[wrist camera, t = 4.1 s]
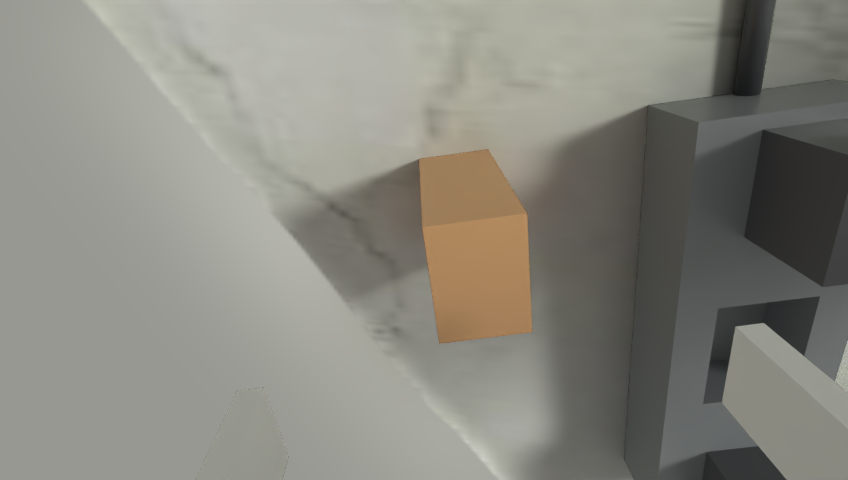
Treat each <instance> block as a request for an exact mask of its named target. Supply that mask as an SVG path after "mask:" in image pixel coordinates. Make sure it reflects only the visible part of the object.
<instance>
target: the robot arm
mask: <svg viewBox="0 0 848 480" xmlns="http://www.w3.org/2000/svg"><path fill="white" fill-rule="evenodd" d="M722 403H723V405H724V406H725V407H726V408H727V409H728V411H729V412H730V413H731V414H732V415H733V416H734V418H735V419H736V420H737V421H738V422H739V424H740V425H741V426H742V427H743V428H744V430H745V431H746V432H747V433H748V434H749V436H750V437H751V438H752V439H753V440H754V441H755V443H756V444H757V445H758V446H759V447H760V449H761V450H762V451H763V452H764V453H765V455H766V456H767V457H768V458H769V459H770V461H771V462H772V463H773V464H774V465H775V466H776V468H777V469H778V470H779V471H780V472H781V474H782V475H783V476H784V477H785V478H786V480H848V392H847V391H845V390H844V389H843V388H842V387H841V386H839V385H838V384H837V383H836V382H834V381H833V380H832V379H831V378H830V377H828V376H827V375H826V374H825V373H824V372H822V371H821V370H820V369H819V368H818V367H816V366H815V365H814V364H813V363H812V362H810V361H809V360H808V359H807V358H805V357H804V356H803V355H802V354H801V353H799V352H798V351H797V350H796V349H795V348H793V347H792V346H791V345H790V344H789V343H787V342H786V341H785V340H784V339H782V338H781V337H780V336H779V335H778V334H776V333H775V332H774V331H773V330H772V329H770V328H769V327H768V326H767V325H766V324H764V323H759V324H752V325H744V326H736V327H735V332H734V337H733V343H732V348H731V354H730V360H729V365H728V371H727V376H726V382H725V387H724V393H723V399H722ZM288 457H289V456H288V453H287V450H286V447H285V445H284V442H283V439H282V436H281V434H280V431H279V428H278V425H277V423H276V420H275V417H274V414H273V411H272V409H271V406H270V403H269V400H268V398H267V395H266V392H265V389H264V388H255V389H248V390H240V391H237V393H236V394H235V396H234V399H233V401H232V403H231V405H230V407H229V409H228V411H227V414H226V416H225V418H224V420H223V422H222V424H221V426H220V428H219V431H218V433H217V435H216V437H215V439H214V441H213V443H212V446H211V448H210V450H209V452H208V454H207V456H206V459H205V461H204V463H203V465H202V467H201V469H200V471H199V473H198V476H197V478H196V480H283V476H284V473H285V469H286V465H287V462H288Z"/></svg>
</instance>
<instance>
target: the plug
mask: <svg viewBox="0 0 848 480" xmlns="http://www.w3.org/2000/svg"><path fill="white" fill-rule="evenodd" d="M419 168H420V189H421V210H422V229H423V235H424V242H425V249H426V256H427V263H428V269H429V276H430V283H431V290H432V297H433V303H434V310H435V317H436V324H437V330H438V337H439V344H440V343H448V342H456V341H464V340H472V339H481V338H489V337H497V336H505V335H513V334H521V333H530V332H532V314H531V290H530V267H529V243H528V220H527V212H526V211H525V209H524V207H523V206H522V204H521V202H520V201H519V199H518V198H517V196H516V194H515V193H514V191H513V189H512V188H511V186H510V184H509V183H508V181H507V179H506V178H505V176H504V175H503V173H502V171H501V170H500V168H499V166H498V165H497V163H496V161H495V160H494V158H493V156H492V155H491V153H490V152H489V150H488V149H487V150H480V151H473V152H465V153H458V154H451V155H443V156H436V157H429V158H422V159H419Z"/></svg>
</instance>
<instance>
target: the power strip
mask: <svg viewBox="0 0 848 480" xmlns="http://www.w3.org/2000/svg"><path fill="white" fill-rule="evenodd" d="M775 4H776V0H747V5H746V12H745V19H744V26H743V33H742V40H741V47H740V54H739V61H738V68H737V75H736V82H735V89H734V93H733V94H726V95H719V96H712V97H704V98H697V99H690V100H683V101H675V102H668V103H661V104H654V105H648V116H647V131H646V145H645V160H644V175H643V189H642V204H641V218H640V233H639V248H638V262H637V277H636V291H635V306H634V321H633V335H632V350H631V364H630V379H629V394H628V408H627V423H626V437H625V452H624V460H625V462H626V464H627V466H628V468H629V470H630V472H631V474H632V477H633V479H634V480H786V478H785V477H784V476H783V475H782V474H781V472H780V471H779V470H778V469H777V468H776V466H775V465H774V464H773V463H772V462H771V461H770V459H769V458H768V457H767V456H766V455H765V453H764V452H763V451H762V450H761V449H760V447H759V446H758V445H757V444H756V443H755V441H754V440H753V439H752V438H751V437H750V436H749V434H748V433H747V432H746V431H745V430H744V428H743V427H742V426H741V425H740V424H739V422H738V421H737V420H736V419H735V418H734V416H733V415H732V414H731V413H730V412H729V411H728V409H727V408H726V407H725V406H724V405H723V403H722V399H723V393H724V387H725V382H726V376H727V371H728V365H729V360H730V354H731V348H732V343H733V337H734V332H735V327H736V326H744V325H752V324H759V323H764V324H766V325H767V326H768V327H769V328H770V329H772V330H773V331H774V332H775V333H776V334H778V335H779V336H780V337H781V338H782V339H784V340H785V341H786V342H787V343H789V344H790V345H791V346H792V347H793V348H795V349H796V350H797V351H798V352H799V353H801V354H802V355H803V356H804V357H805V358H807V359H808V360H809V361H810V362H812V363H813V364H814V365H815V366H816V367H818V368H819V369H820V370H821V371H822V372H824V373H825V374H826V375H827V376H828V377H830V378H831V379H832V380H833V381H834V382H835V379H836V376H837V372H838V369H839V366H840V363H841V359H842V356H843V353H844V350H845V346H846V343H847V340H848V82H847V81H839V80H827V81H820V82H812V83H805V84H798V85H791V86H784V87H776V88H769V89H762V90H761V88H762V82H763V76H764V70H765V64H766V58H767V52H768V46H769V40H770V34H771V28H772V22H773V16H774V10H775Z"/></svg>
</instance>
